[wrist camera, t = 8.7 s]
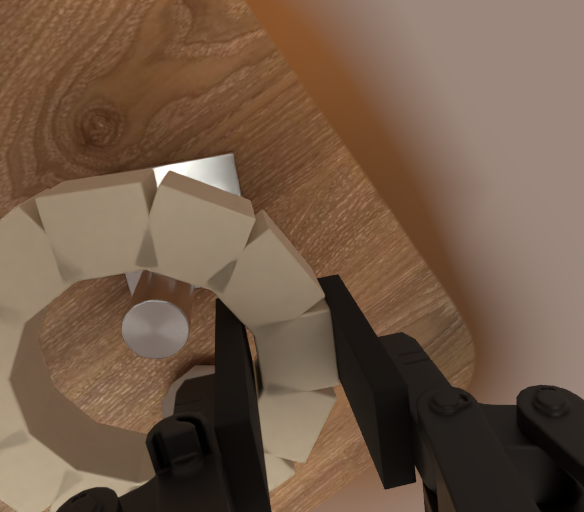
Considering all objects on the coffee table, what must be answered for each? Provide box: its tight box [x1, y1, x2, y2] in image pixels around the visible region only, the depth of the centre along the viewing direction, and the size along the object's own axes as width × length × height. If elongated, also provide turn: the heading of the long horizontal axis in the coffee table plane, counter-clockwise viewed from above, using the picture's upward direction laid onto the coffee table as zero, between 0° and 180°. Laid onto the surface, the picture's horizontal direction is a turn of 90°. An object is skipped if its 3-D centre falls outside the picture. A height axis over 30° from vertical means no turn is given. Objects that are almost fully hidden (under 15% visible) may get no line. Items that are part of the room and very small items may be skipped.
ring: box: [0, 168, 340, 512], centre depth 16 cm, size 12×12×2 cm
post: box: [99, 151, 242, 359], centre depth 24 cm, size 8×8×14 cm
